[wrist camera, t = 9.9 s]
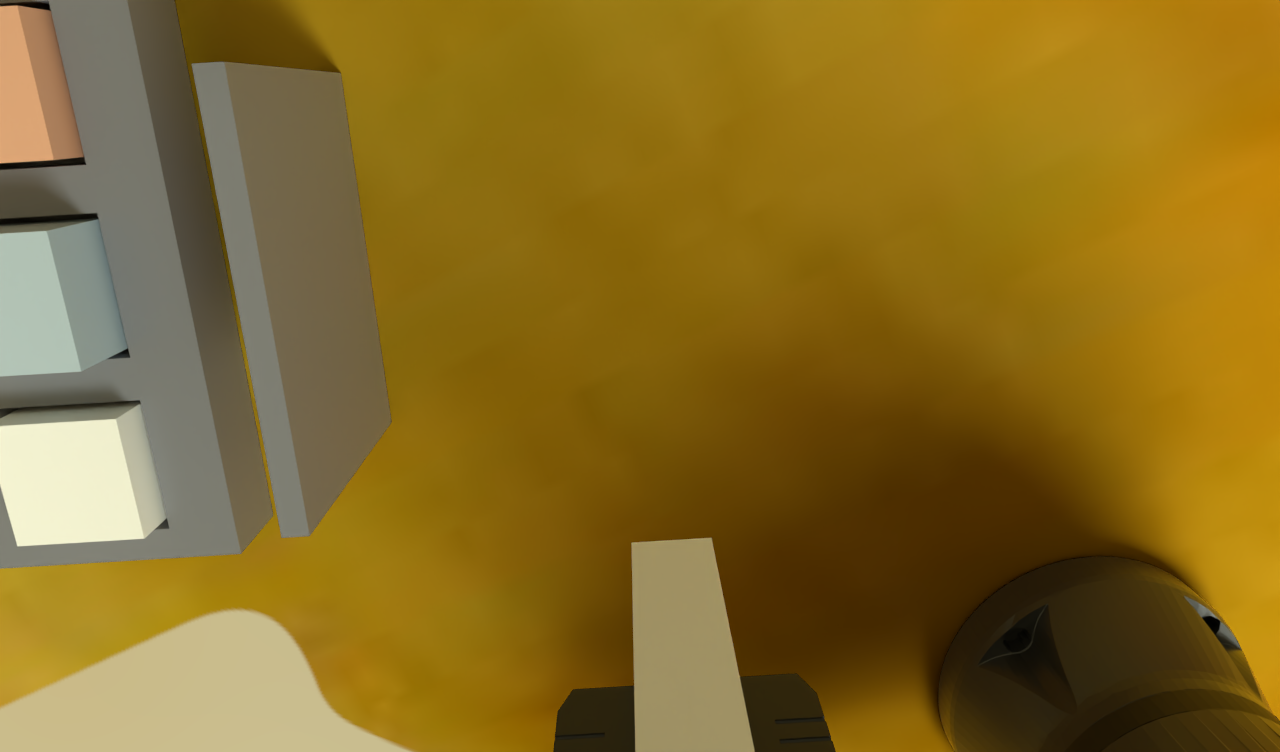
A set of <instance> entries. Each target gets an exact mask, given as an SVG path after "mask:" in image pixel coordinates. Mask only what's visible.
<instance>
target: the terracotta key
mask: <svg viewBox="0 0 1280 752" xmlns="http://www.w3.org/2000/svg"><path fill="white" fill-rule="evenodd" d="M78 157H84V153H83V149H82V144H81V140H80V136H79V131H78V127H77V123H76V118H75V114H74V109H73V105H72V101H71V96H70V92H69V88H68V83H67V79H66V74H65V70H64V66H63V61H62V57H61V53H60V48H59V44H58V39H57V35H56V31H55V26H54V22H53V18H52V13H51V11H49V10H43V9H37V8H30V7H24V6H17V5H16V6H0V163H14V162H30V161H47V160H59V159H69V158H78Z"/></svg>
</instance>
